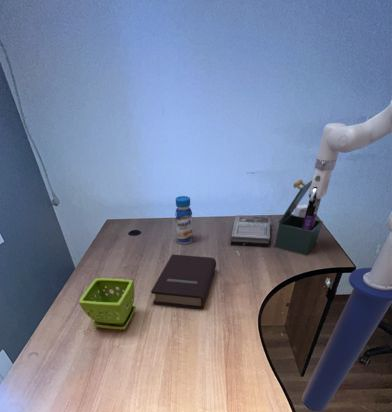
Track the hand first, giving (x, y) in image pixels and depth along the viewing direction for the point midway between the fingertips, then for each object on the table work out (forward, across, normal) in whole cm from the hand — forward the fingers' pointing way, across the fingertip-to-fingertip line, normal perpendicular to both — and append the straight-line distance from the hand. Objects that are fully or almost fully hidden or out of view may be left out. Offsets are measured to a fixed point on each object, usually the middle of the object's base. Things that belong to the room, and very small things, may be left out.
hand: (311, 213), depth 117 cm
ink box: (+16, +19, +8) cm, 26 cm away
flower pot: (+16, -89, +34) cm, 97 cm away
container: (+10, 0, 0) cm, 10 cm away
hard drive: (+16, 0, +28) cm, 32 cm away
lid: (-3, 0, +8) cm, 8 cm away
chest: (+16, 0, +4) cm, 16 cm away
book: (+16, -58, +26) cm, 66 cm away
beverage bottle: (+16, -25, +52) cm, 60 cm away
